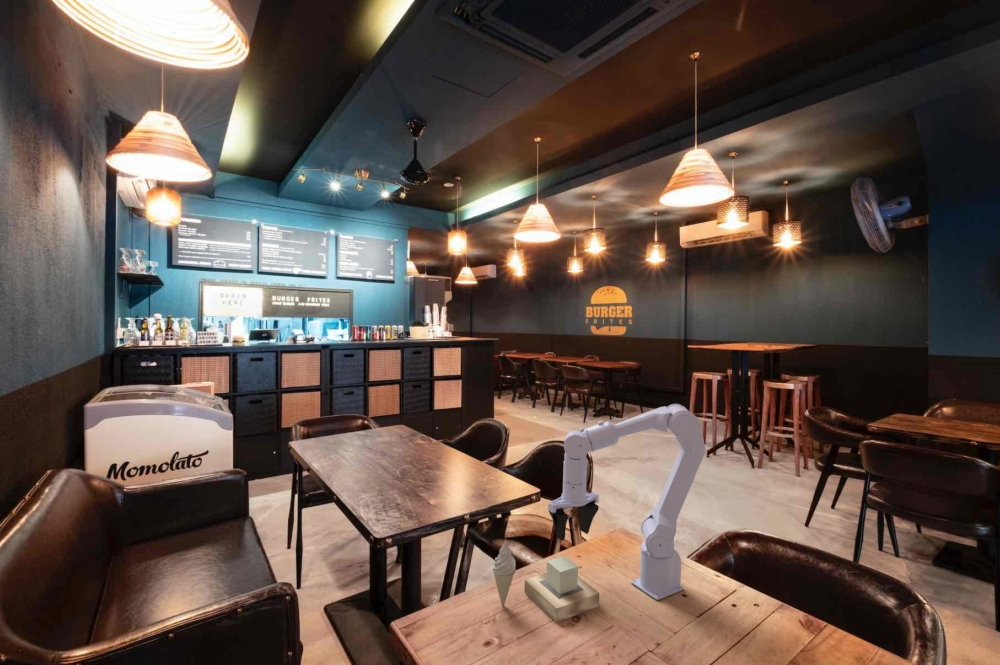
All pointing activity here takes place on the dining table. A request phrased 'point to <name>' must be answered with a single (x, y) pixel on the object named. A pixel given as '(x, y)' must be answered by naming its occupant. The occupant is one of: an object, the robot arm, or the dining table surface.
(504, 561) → the ice cream cone
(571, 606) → the birch pedestal
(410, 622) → the dining table surface
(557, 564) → the sage cube
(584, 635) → the dining table surface
